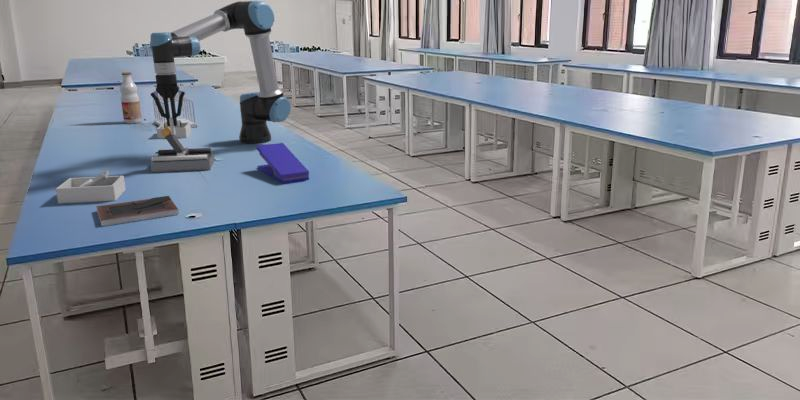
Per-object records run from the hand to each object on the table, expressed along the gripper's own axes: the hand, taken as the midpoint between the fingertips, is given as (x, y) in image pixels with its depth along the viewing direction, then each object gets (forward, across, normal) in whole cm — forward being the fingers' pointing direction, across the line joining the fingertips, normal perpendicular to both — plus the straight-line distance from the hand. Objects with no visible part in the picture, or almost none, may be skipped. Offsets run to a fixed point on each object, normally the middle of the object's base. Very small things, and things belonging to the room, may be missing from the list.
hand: (173, 134), depth 242 cm
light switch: (+14, -23, -38) cm, 46 cm away
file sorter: (+13, -17, +102) cm, 104 cm away
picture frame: (+15, -3, -59) cm, 61 cm away
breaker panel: (+13, +2, +1) cm, 14 cm away
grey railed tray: (+9, +2, +1) cm, 10 cm away
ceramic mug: (+13, -12, +69) cm, 71 cm away
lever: (+8, +2, 0) cm, 9 cm away
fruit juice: (+12, -42, +116) cm, 124 cm away
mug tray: (+12, -12, +71) cm, 73 cm away
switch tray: (+13, -22, -37) cm, 45 cm away
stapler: (+15, +41, -20) cm, 48 cm away
